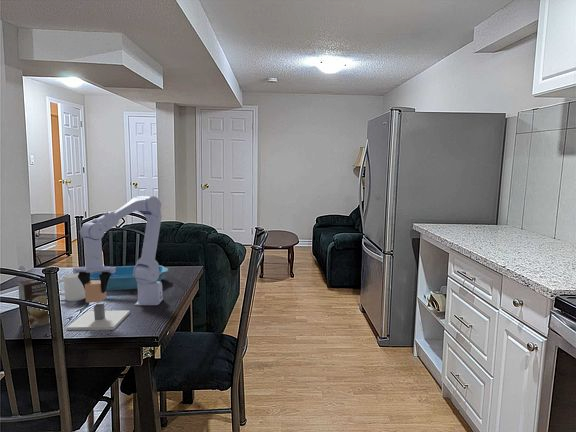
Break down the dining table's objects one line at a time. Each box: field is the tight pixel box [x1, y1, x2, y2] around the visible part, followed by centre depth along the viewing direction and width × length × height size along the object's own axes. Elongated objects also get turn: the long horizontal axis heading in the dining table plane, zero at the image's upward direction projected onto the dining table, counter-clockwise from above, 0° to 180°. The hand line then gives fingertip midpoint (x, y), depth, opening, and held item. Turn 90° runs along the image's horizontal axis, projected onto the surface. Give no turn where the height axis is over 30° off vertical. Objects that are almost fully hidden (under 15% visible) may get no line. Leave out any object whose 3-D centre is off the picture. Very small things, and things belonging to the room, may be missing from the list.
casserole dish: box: [90, 264, 169, 291], centre depth 195 cm, size 37×22×7 cm, turn 102°
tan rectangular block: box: [85, 280, 107, 303], centre depth 150 cm, size 5×5×7 cm
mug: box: [57, 272, 86, 302], centre depth 174 cm, size 12×8×10 cm
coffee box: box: [17, 279, 50, 329], centre depth 146 cm, size 9×6×16 cm
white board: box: [66, 303, 131, 331], centre depth 149 cm, size 16×16×6 cm
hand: (95, 292), depth 150 cm, fingers closed on tan rectangular block, 5 cm apart
